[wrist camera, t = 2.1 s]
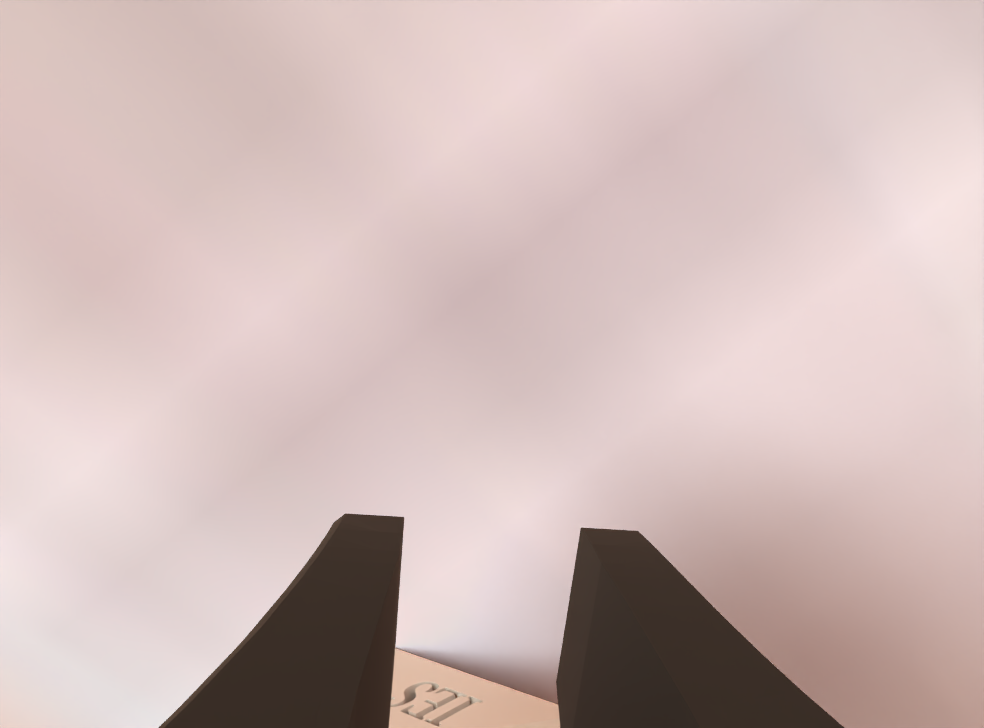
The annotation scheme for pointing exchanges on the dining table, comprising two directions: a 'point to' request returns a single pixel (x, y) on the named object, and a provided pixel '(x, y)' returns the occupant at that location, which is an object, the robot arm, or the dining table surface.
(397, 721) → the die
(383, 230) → the dining table surface
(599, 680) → the robot arm
